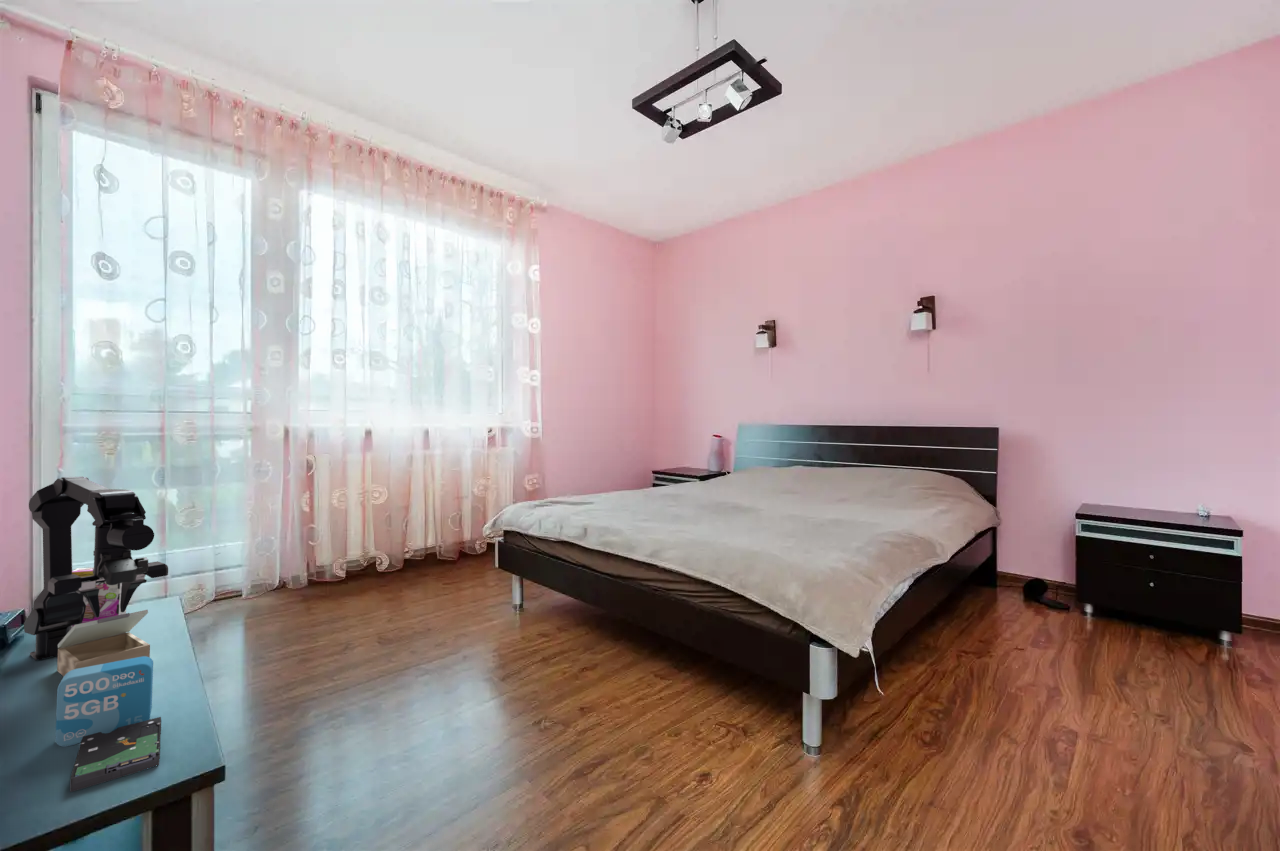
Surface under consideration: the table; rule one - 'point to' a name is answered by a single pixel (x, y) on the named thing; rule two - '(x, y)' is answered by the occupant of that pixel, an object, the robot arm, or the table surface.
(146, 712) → the data package
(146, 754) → the disk drive
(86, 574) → the candy bar box
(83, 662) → the box
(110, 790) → the table surface
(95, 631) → the lid
